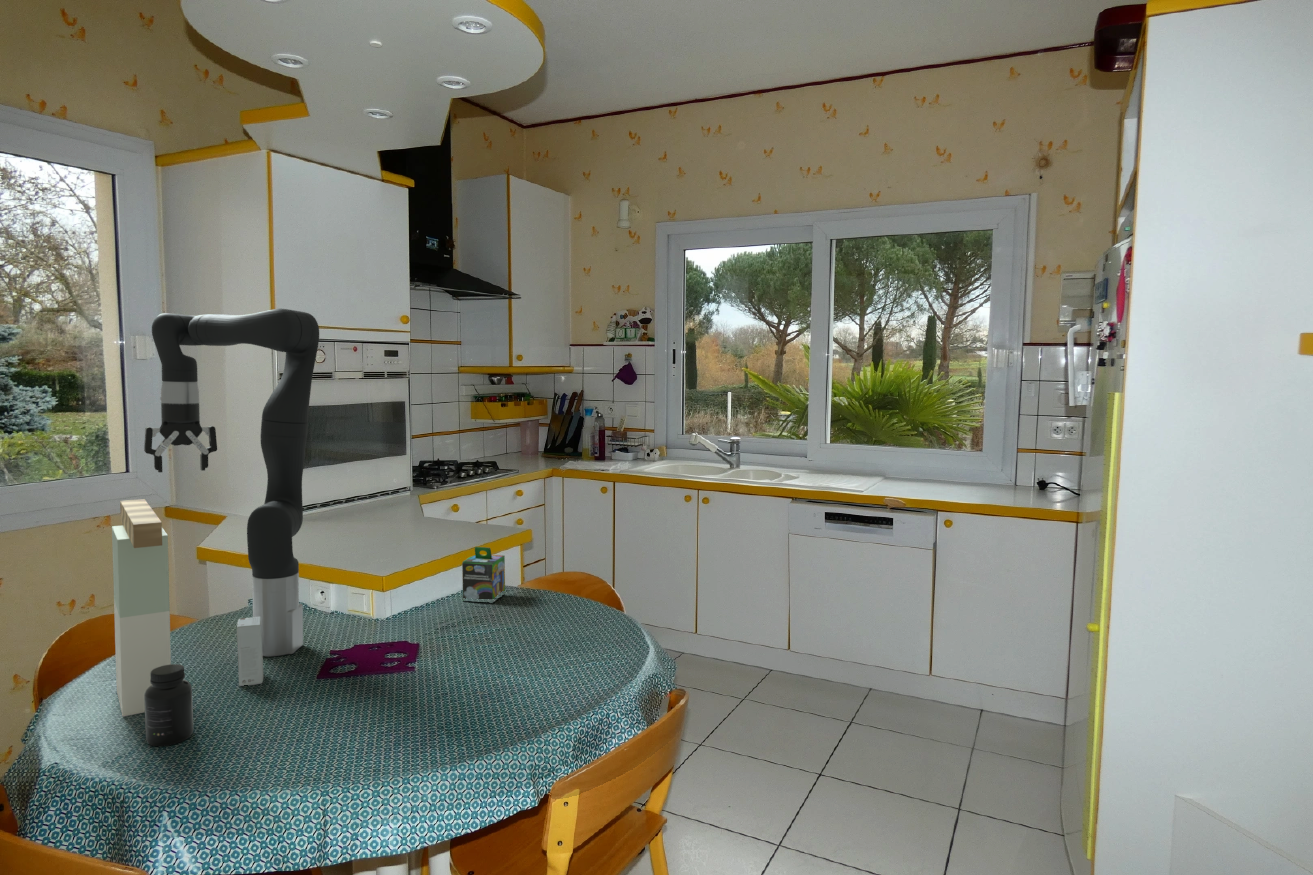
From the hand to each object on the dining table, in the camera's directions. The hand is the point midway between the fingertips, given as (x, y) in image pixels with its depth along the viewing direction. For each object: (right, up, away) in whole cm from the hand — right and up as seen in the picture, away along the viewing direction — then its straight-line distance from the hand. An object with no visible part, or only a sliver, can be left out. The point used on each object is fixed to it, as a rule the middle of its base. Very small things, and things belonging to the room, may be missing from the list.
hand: (181, 471), depth 180 cm
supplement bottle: (+28, -43, -49) cm, 71 cm away
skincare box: (+29, -41, -24) cm, 56 cm away
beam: (+16, -10, -38) cm, 42 cm away
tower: (+14, -41, -34) cm, 55 cm away
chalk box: (+62, -37, +36) cm, 81 cm away
